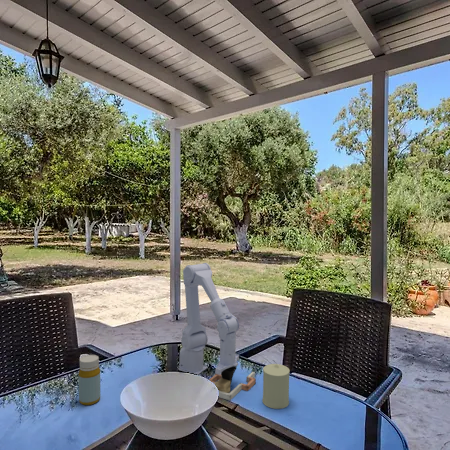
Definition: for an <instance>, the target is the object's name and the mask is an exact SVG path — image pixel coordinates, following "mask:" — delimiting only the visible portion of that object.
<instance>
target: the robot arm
mask: <svg viewBox="0 0 450 450" xmlns="http://www.w3.org/2000/svg"><path fill="white" fill-rule="evenodd" d="M182 274H183V275H182V277H183V285H184V290H185V291H184V292H185V307H186V309H185V310H186V321H187V325H186V326H185V328H184V329H183V330H182V332H181V333H182V334H181V340H180V342H181V346H182V347H181V348H180V351H179V368H178V371H182V372H185V373H187V372H189V374H191V373H194V374H197V375H196V376H198V375H200V374H201V373H202V372H204V371H205V370H207V369H208V366H206V365H204V349H205V347H206V345H208V339H209V338H208V334H207V331H206V329H207V328H206V327H205V326H204V325H202V324H201V313H200V299H199V286H201V287H202V289H203V290H204V292H205V293H206V295H207V297H208V299H209V300H210V309H211V312H212V313H213V316H214V317H215V320H216V322H217V325H216V329H217V332H218V337H219V339H220V340H219V361H218V364H217V366H216V368H215V371H214V372H215V374H218V375H222V378H223V379H226V380H229V381H230V386H231V385H232V381H233V376H234V375H235V371H236V370H237V366H238V365H239V363H238V361H239V360H240V356H239V354H236V348H237V346H236V341H237V340H236V339H237V338H236V333H237V332H238V331H239V329H240V323H239V319H238V317H236V316H235V315H234V314H233V313H231V312H230V310H229V307H228V306H227V304H226V302H225V300H224V299H223V298H220V296H219V293H218V291H217V288H216V286H215V284H214V281H213V278H212V277H213V270H212V268H211V266H210V264H209V263H208V262H203V263H198V264H197V263H196V264H188V265H186V266H185V267H184V269H183V270H182ZM194 374H193V375H194ZM215 374H214V375H215Z"/></svg>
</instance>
